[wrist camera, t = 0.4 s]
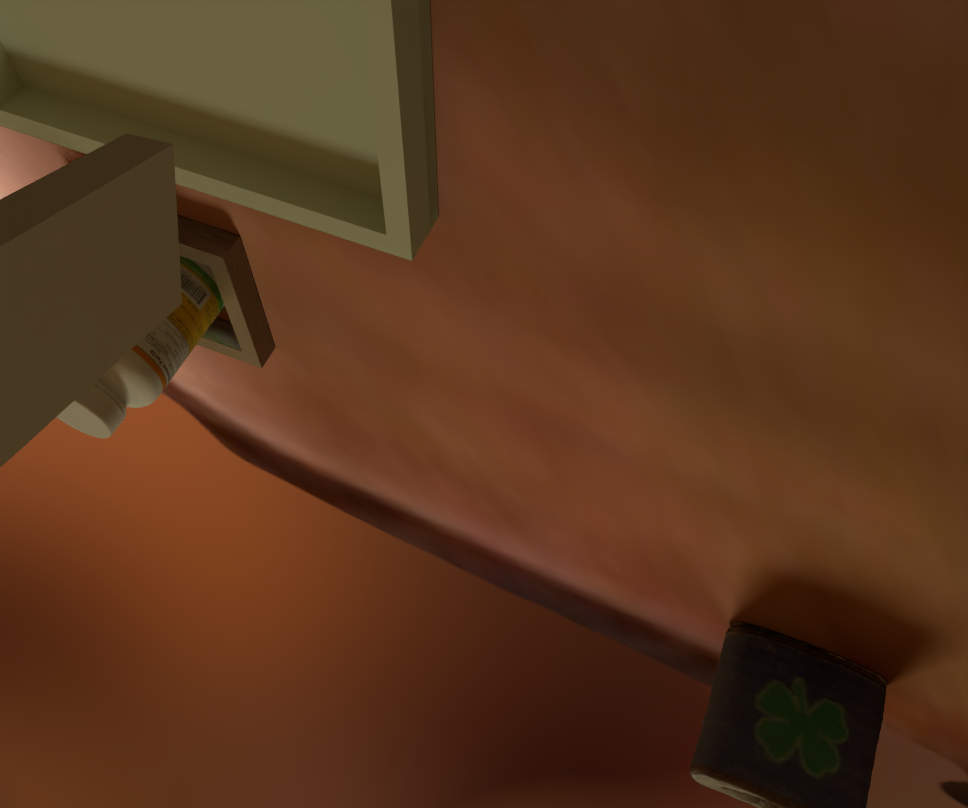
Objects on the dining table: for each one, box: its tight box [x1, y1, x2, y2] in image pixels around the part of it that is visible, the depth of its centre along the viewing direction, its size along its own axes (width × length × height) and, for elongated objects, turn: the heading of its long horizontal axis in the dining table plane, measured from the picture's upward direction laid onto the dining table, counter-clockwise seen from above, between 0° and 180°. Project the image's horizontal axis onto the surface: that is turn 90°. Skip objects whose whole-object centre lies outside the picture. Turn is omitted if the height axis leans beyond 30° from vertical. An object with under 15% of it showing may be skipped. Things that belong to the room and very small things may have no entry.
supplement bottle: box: [57, 256, 224, 438], centre depth 44 cm, size 5×5×10 cm
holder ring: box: [177, 215, 275, 368], centre depth 46 cm, size 9×9×2 cm
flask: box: [690, 622, 887, 808], centre depth 51 cm, size 10×3×12 cm, turn 86°
